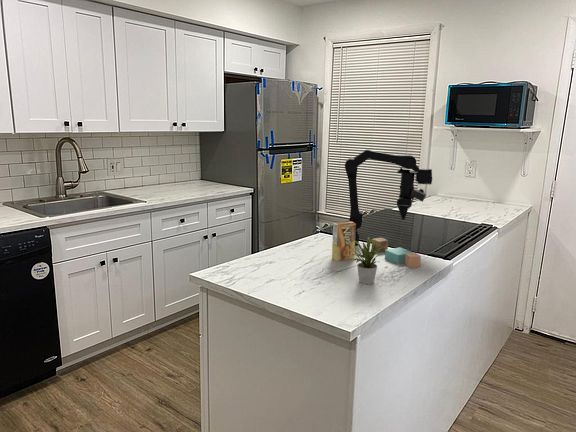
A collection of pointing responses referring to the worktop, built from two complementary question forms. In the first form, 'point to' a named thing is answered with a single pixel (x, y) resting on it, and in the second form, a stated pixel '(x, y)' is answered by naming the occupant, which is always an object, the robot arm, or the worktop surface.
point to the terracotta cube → (412, 259)
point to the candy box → (343, 240)
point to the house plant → (366, 262)
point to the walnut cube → (380, 244)
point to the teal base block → (396, 255)
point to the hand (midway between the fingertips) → (404, 217)
